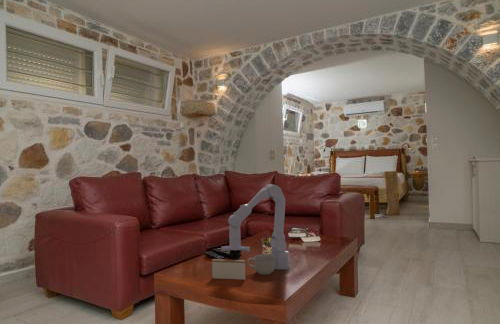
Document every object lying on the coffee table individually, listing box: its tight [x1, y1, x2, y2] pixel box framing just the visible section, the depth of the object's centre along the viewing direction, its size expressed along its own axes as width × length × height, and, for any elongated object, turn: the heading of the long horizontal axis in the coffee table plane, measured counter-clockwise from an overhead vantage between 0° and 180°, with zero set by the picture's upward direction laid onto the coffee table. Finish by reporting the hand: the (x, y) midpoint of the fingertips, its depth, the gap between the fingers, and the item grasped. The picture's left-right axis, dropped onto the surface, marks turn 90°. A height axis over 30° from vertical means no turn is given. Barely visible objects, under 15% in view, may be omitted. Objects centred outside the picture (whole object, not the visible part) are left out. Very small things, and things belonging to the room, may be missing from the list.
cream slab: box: [211, 258, 247, 280], centre depth 160 cm, size 16×2×9 cm, turn 79°
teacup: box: [246, 253, 276, 276], centre depth 168 cm, size 14×11×8 cm
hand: (235, 265), depth 170 cm, fingers closed
